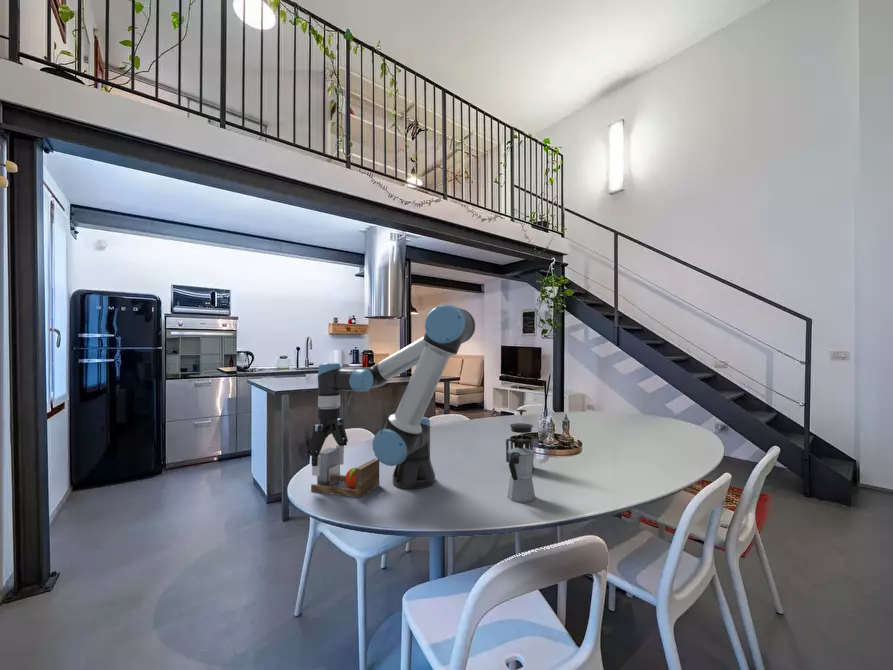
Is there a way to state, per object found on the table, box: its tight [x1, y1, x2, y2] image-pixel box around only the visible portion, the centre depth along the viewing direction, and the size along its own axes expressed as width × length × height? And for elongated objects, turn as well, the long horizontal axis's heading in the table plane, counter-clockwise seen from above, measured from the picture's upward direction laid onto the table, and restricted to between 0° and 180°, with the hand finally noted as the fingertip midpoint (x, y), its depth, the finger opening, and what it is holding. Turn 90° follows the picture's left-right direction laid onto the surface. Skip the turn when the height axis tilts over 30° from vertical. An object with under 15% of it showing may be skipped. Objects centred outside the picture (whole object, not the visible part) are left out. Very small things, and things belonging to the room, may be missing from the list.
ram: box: [316, 447, 341, 487], centre depth 132 cm, size 5×7×12 cm, turn 161°
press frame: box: [310, 458, 380, 498], centre depth 130 cm, size 19×12×9 cm, turn 71°
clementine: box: [344, 467, 357, 489], centre depth 129 cm, size 8×7×7 cm
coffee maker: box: [506, 439, 536, 504], centre depth 120 cm, size 15×9×18 cm, turn 149°
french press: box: [505, 408, 535, 472], centre depth 151 cm, size 12×9×23 cm
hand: (328, 469), depth 133 cm, fingers open, 12 cm apart
